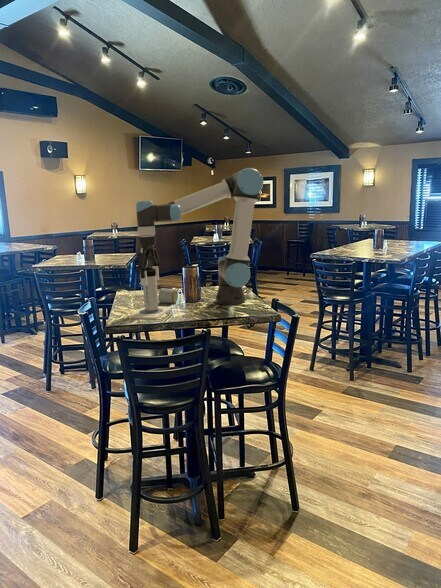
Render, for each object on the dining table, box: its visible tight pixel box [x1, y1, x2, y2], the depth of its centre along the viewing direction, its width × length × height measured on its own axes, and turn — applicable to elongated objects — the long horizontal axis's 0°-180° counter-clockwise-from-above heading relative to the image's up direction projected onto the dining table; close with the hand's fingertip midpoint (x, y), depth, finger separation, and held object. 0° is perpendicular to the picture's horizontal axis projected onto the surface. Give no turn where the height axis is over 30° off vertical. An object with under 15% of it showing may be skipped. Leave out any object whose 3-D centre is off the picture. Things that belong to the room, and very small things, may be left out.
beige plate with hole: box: [127, 305, 174, 320], centre depth 203 cm, size 14×20×1 cm
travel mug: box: [142, 267, 159, 313], centre depth 201 cm, size 6×7×20 cm
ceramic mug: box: [158, 287, 179, 305], centre depth 223 cm, size 11×8×8 cm
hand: (150, 282), depth 200 cm, fingers open, 13 cm apart
